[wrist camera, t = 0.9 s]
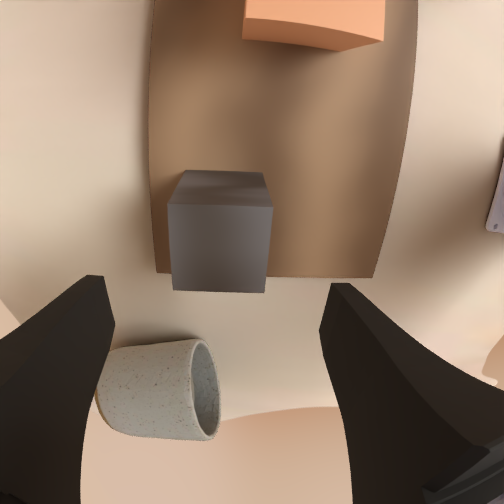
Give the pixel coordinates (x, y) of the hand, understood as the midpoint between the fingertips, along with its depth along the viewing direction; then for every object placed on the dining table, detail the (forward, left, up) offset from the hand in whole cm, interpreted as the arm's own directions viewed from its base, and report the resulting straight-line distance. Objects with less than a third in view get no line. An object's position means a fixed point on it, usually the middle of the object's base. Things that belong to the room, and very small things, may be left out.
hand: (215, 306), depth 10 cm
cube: (-3, -12, -8) cm, 15 cm away
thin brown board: (-3, -7, -9) cm, 12 cm away
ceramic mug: (+4, +15, -10) cm, 18 cm away
